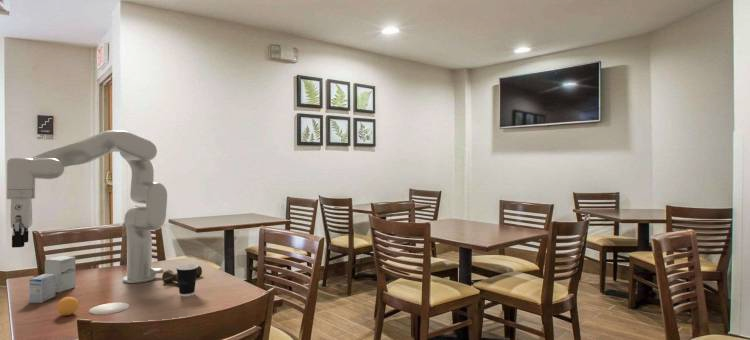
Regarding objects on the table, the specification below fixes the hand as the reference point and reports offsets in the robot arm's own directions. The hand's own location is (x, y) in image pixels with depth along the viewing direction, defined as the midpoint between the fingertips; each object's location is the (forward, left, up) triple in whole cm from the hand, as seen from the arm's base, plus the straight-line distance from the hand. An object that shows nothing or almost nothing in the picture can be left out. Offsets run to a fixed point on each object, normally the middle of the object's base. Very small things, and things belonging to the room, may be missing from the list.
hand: (20, 244), depth 151 cm
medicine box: (-5, -12, -23) cm, 27 cm away
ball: (-13, +12, -20) cm, 27 cm away
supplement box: (-10, -24, -23) cm, 35 cm away
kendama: (-53, -13, -23) cm, 60 cm away
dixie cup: (-51, +9, -23) cm, 57 cm away
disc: (-25, +12, -23) cm, 36 cm away
